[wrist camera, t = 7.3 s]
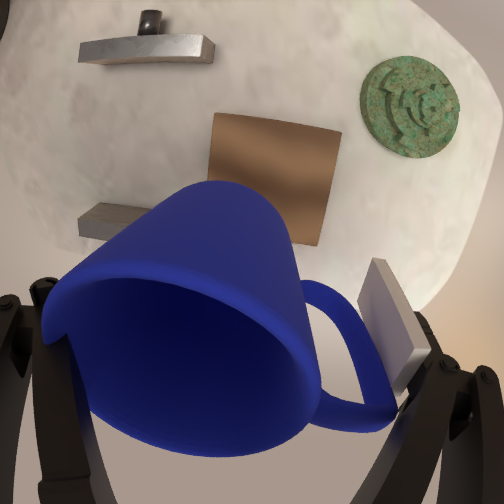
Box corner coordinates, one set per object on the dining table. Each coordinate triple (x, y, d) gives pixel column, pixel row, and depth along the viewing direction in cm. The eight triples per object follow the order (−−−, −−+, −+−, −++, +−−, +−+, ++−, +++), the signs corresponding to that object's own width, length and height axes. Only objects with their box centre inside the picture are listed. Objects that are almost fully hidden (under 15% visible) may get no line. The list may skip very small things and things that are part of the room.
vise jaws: (109, 22, 23) (85, 14, 19) (219, 17, 23) (208, 3, 19) (100, 218, 34) (79, 236, 30) (195, 232, 34) (183, 253, 30)
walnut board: (216, 112, 28) (214, 113, 27) (339, 131, 28) (341, 133, 27) (205, 225, 33) (203, 228, 33) (316, 242, 33) (317, 246, 32)
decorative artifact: (346, 131, 28) (429, 167, 28) (365, 140, 22) (461, 186, 22) (375, 42, 23) (456, 86, 24) (400, 29, 17) (494, 88, 18)
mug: (320, 338, 19) (332, 485, 10) (137, 270, 18) (51, 400, 9) (391, 231, 15) (481, 374, 7) (174, 137, 14) (33, 206, 5)
